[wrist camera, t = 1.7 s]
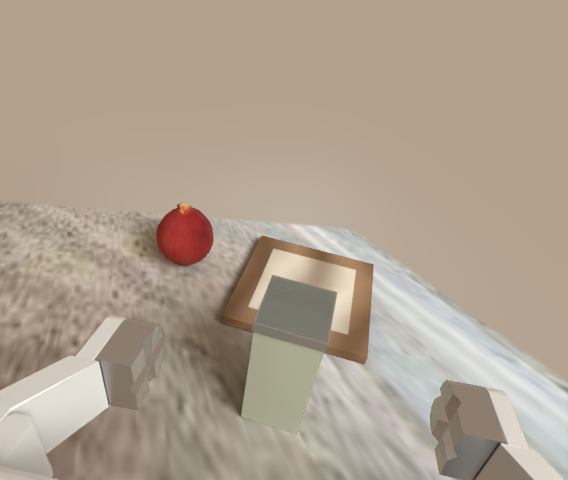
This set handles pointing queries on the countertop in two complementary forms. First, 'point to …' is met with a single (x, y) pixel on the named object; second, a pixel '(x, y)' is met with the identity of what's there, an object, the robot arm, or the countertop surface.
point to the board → (314, 271)
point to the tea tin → (286, 351)
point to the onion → (184, 235)
